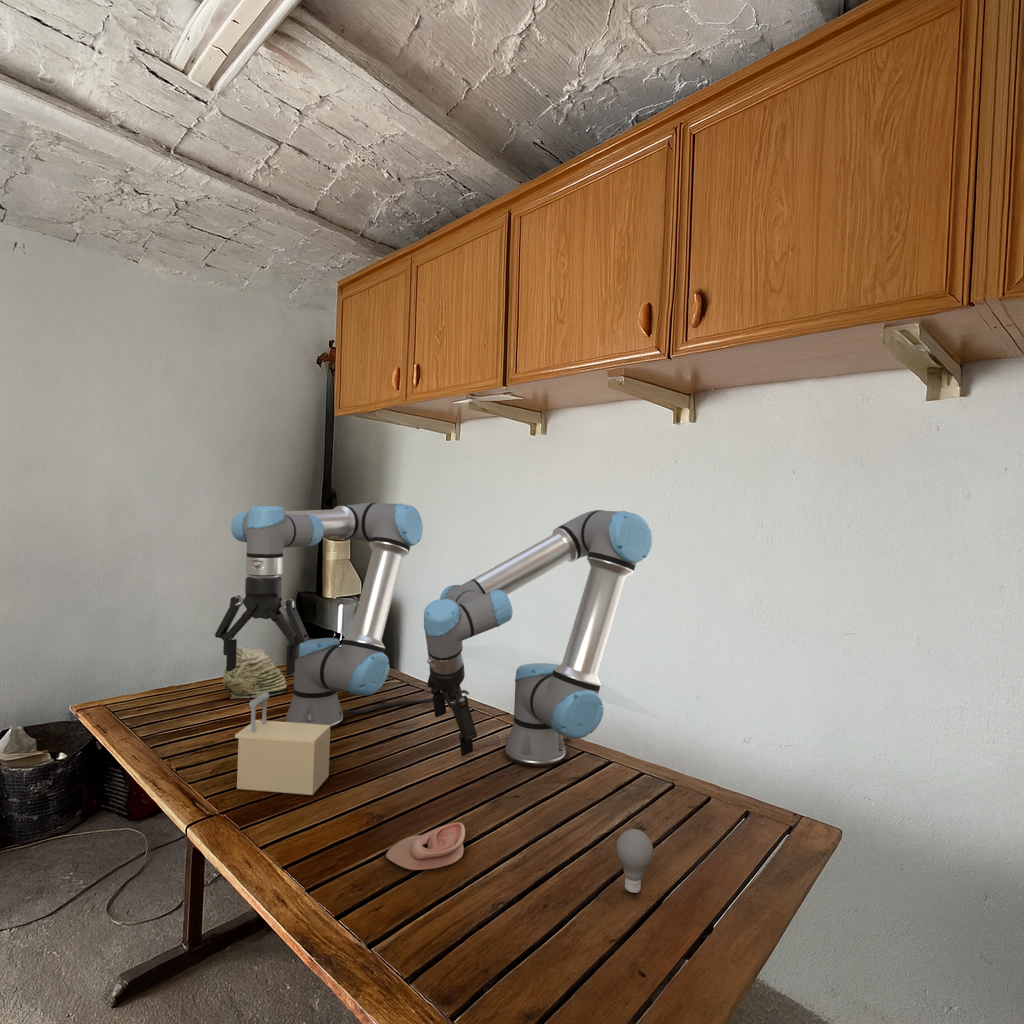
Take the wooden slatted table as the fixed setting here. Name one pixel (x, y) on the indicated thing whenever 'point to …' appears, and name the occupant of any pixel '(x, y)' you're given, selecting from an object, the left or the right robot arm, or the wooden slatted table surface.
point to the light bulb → (634, 857)
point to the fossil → (253, 675)
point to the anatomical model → (430, 848)
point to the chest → (283, 765)
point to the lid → (279, 727)
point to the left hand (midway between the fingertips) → (260, 672)
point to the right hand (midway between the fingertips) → (453, 733)
